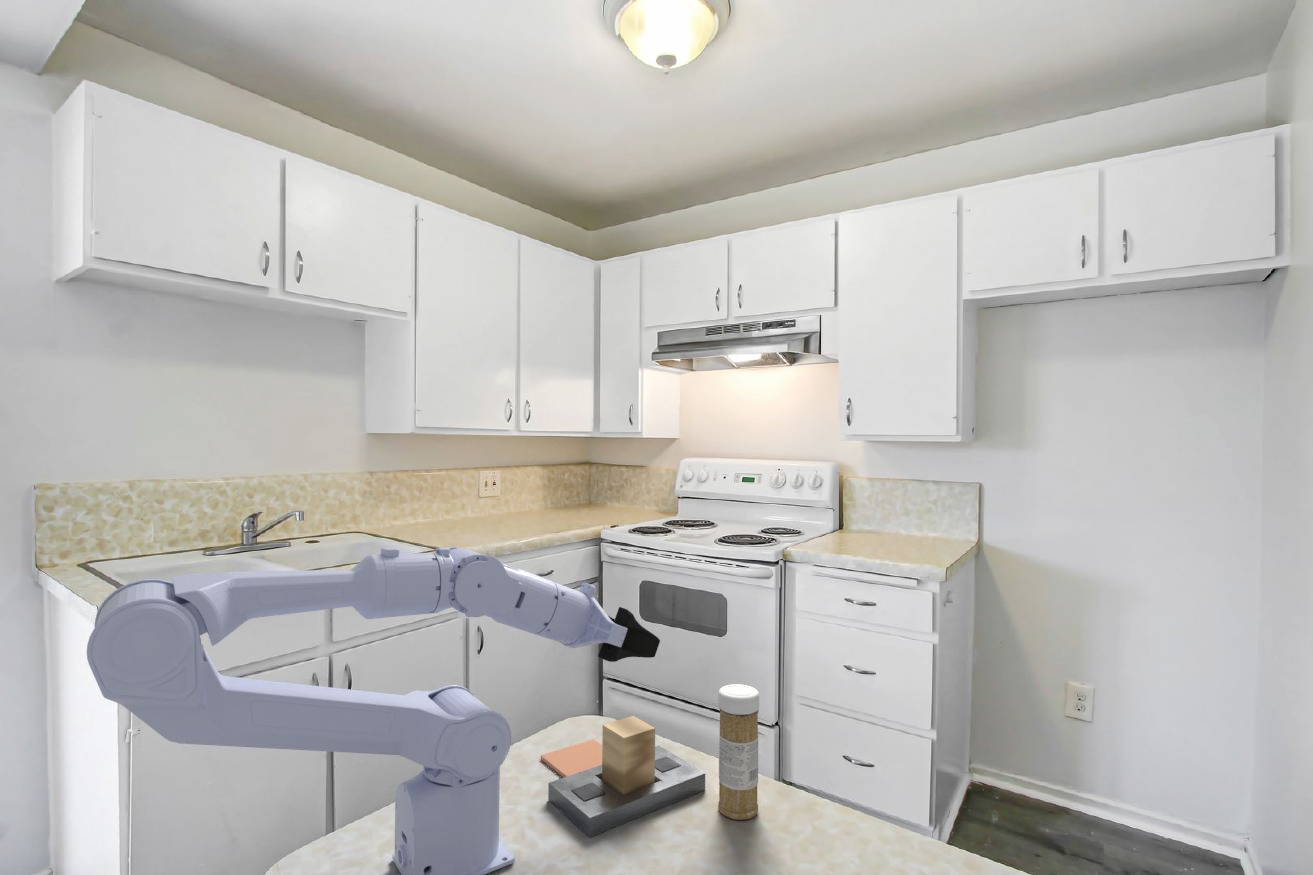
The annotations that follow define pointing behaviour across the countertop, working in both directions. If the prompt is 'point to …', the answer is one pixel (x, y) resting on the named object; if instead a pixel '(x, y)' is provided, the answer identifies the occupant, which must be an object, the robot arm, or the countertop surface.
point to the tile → (575, 758)
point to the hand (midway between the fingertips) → (635, 639)
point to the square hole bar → (606, 808)
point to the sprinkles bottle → (738, 751)
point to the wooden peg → (628, 755)
